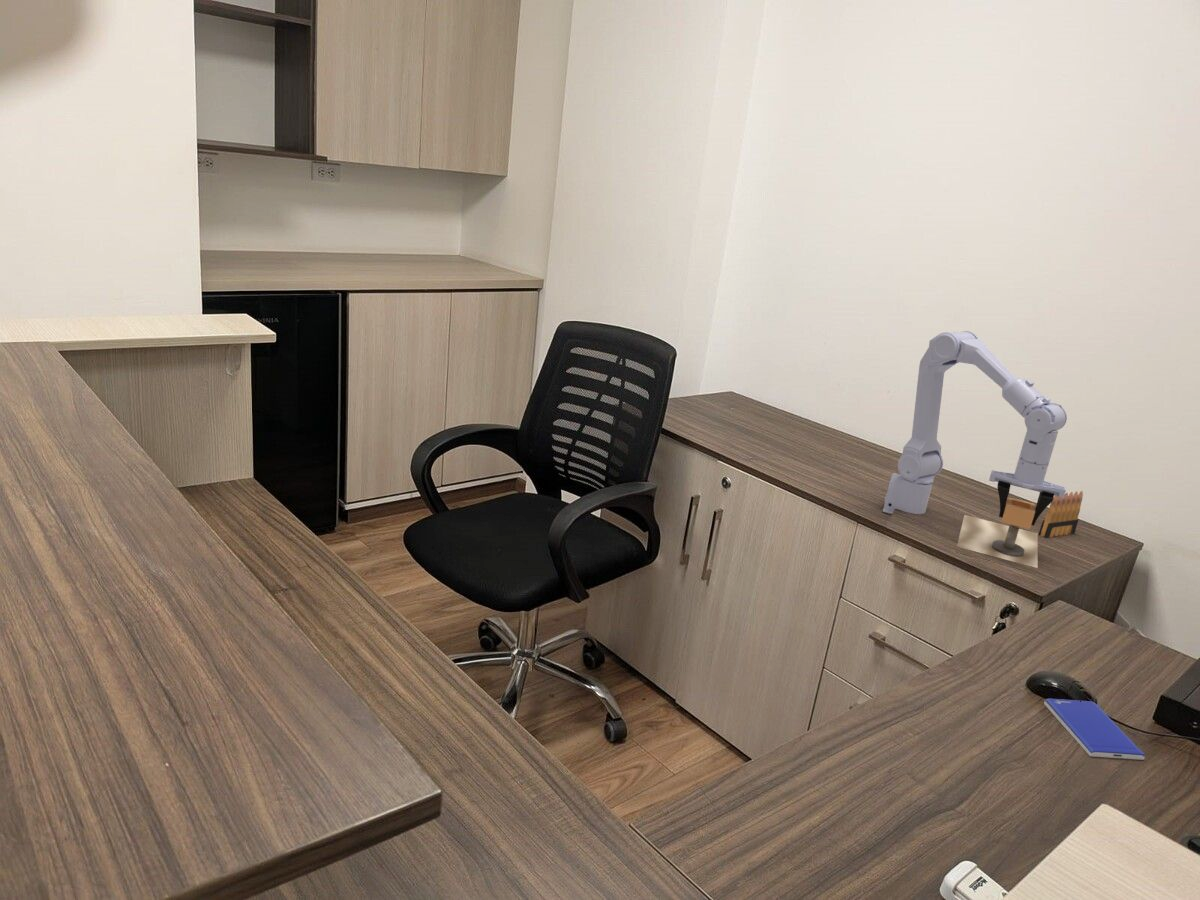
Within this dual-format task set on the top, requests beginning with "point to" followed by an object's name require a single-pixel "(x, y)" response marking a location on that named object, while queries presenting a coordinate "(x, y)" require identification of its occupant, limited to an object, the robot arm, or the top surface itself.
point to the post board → (999, 541)
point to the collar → (1018, 513)
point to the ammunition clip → (1062, 515)
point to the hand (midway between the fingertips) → (1016, 519)
